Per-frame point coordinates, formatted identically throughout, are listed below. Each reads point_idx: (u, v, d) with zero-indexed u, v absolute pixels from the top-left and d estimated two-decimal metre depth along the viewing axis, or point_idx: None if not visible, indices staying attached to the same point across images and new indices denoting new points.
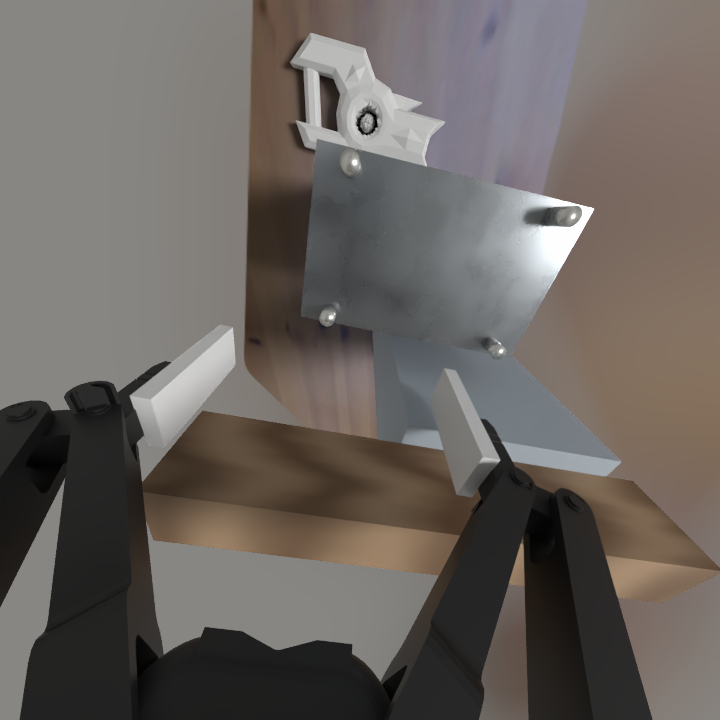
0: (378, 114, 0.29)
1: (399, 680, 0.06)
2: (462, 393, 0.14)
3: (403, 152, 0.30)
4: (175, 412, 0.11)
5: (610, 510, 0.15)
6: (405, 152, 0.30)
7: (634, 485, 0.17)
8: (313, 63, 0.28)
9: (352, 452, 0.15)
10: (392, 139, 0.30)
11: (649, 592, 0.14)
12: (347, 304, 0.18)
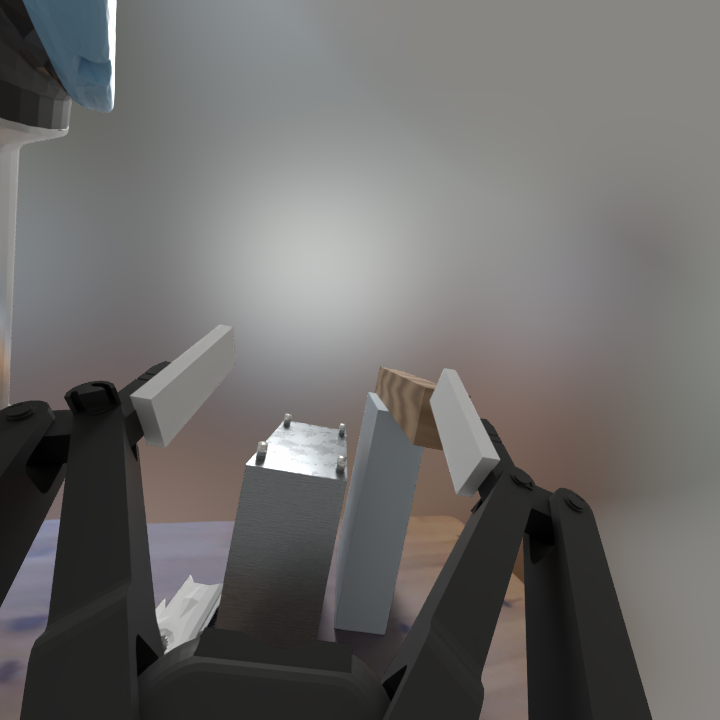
0: None
1: (399, 680, 0.06)
2: (462, 393, 0.14)
3: (200, 603, 0.32)
4: (175, 412, 0.11)
5: (380, 381, 0.46)
6: (201, 601, 0.32)
7: (375, 390, 0.49)
8: None
9: (395, 406, 0.31)
10: (185, 615, 0.30)
11: None
12: (332, 464, 0.29)
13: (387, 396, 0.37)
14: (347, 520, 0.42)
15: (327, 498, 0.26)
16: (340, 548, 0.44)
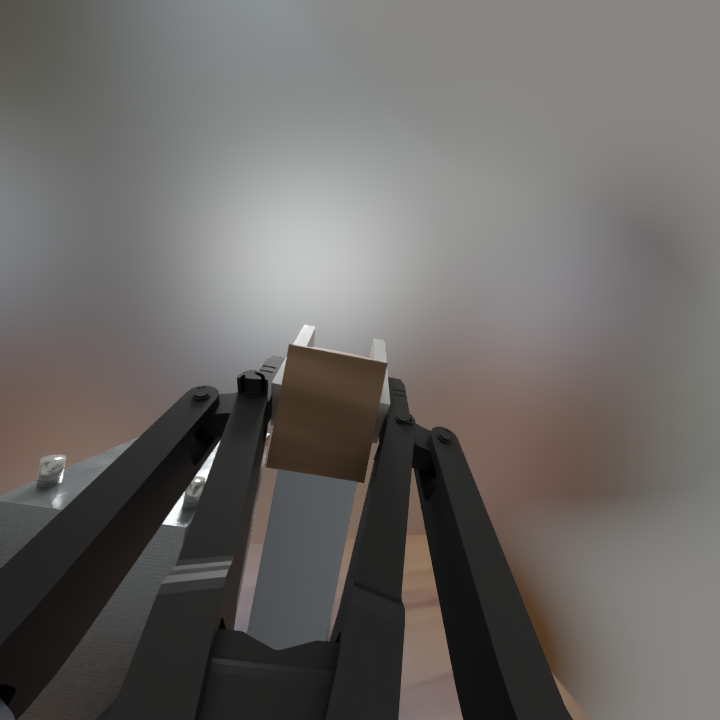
0: None
1: None
2: (381, 357, 0.15)
3: None
4: None
5: None
6: None
7: None
8: None
9: None
10: None
11: None
12: None
13: None
14: None
15: (149, 559, 0.14)
16: None
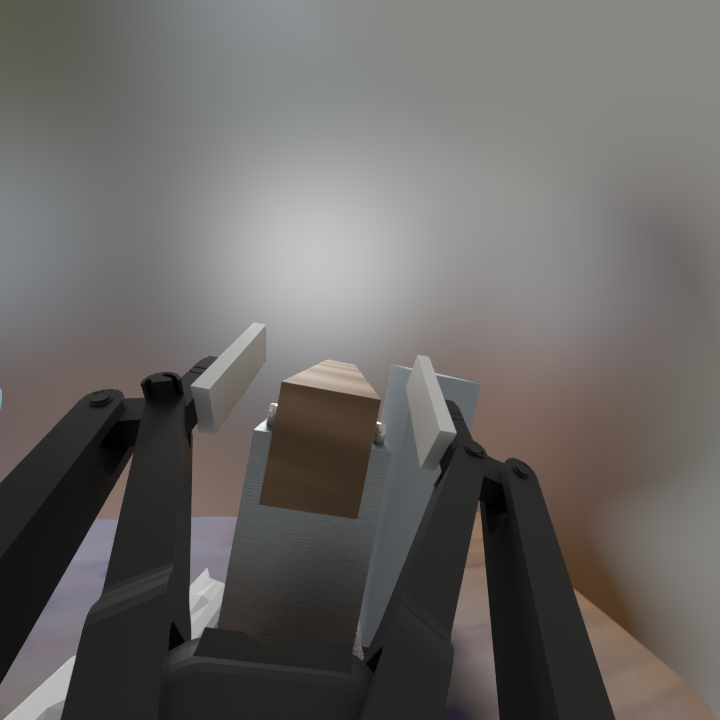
0: None
1: (377, 661, 0.06)
2: (431, 376, 0.15)
3: (211, 604, 0.26)
4: (223, 402, 0.12)
5: None
6: (213, 602, 0.26)
7: None
8: None
9: None
10: (191, 616, 0.25)
11: (347, 363, 0.37)
12: None
13: None
14: None
15: None
16: None
